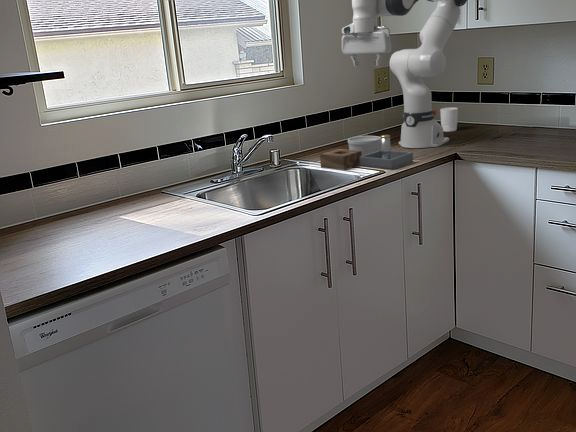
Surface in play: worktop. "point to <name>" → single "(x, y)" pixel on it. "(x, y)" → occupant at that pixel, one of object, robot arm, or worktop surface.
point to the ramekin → (365, 144)
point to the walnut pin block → (340, 159)
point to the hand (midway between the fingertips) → (366, 66)
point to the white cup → (449, 119)
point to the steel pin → (385, 147)
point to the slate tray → (386, 160)
